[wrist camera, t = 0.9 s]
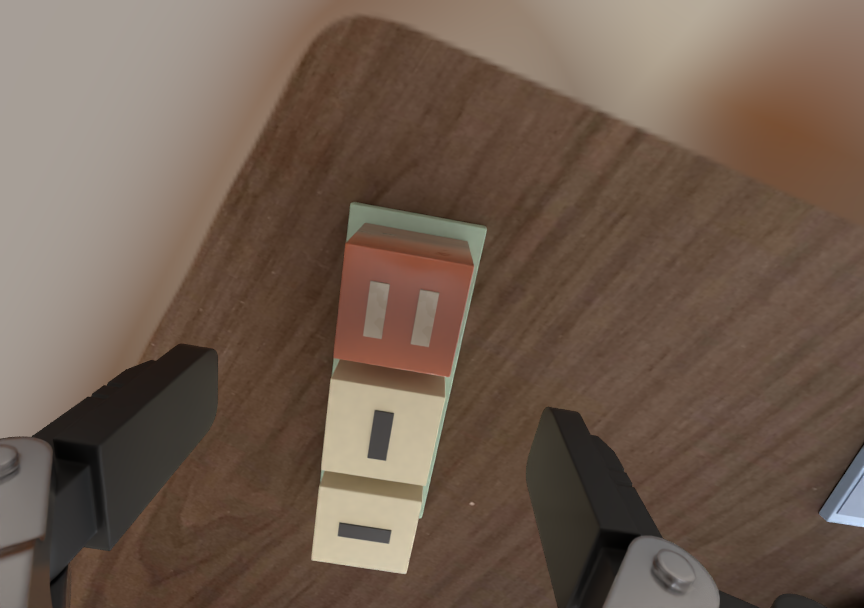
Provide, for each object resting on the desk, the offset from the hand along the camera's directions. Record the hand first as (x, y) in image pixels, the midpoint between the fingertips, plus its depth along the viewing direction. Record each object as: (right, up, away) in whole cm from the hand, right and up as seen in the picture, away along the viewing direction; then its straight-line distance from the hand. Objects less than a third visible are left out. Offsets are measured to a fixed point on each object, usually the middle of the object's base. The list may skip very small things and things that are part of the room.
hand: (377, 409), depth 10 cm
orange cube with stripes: (0, +4, +9) cm, 10 cm away
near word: (-1, -1, +12) cm, 12 cm away
